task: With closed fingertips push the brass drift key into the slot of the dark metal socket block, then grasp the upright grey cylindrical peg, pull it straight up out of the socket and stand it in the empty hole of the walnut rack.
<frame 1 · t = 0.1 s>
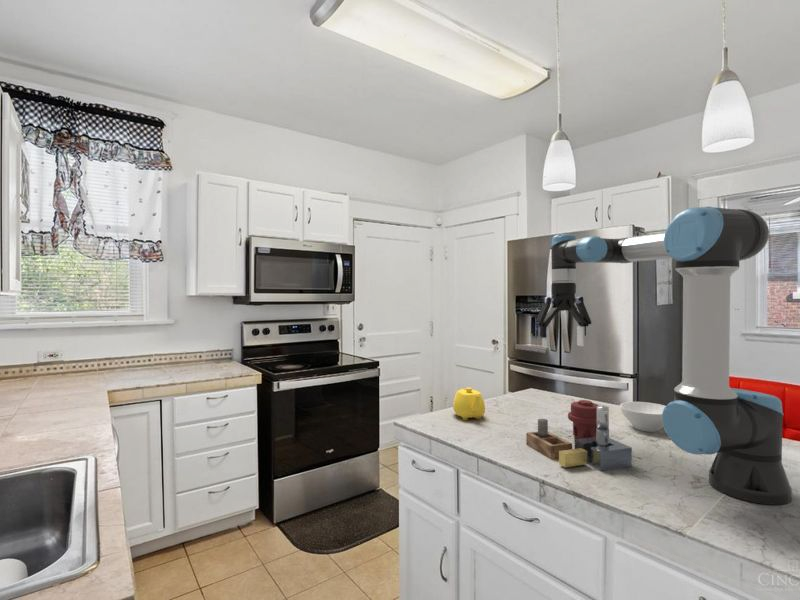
hand: (563, 346, 145), 28 cm above the counter, fingers open, 13 cm apart
mechanical component: (585, 441, 136), on the counter
bowl: (646, 428, 148), on the counter
drift key: (573, 457, 117), point 2 cm above the counter, slide at 0.0 cm
rack: (548, 449, 129), on the counter
teapot: (469, 417, 162), on the counter
grey cylindrical peg: (602, 434, 119), in the socket block
socket block: (602, 461, 120), on the counter
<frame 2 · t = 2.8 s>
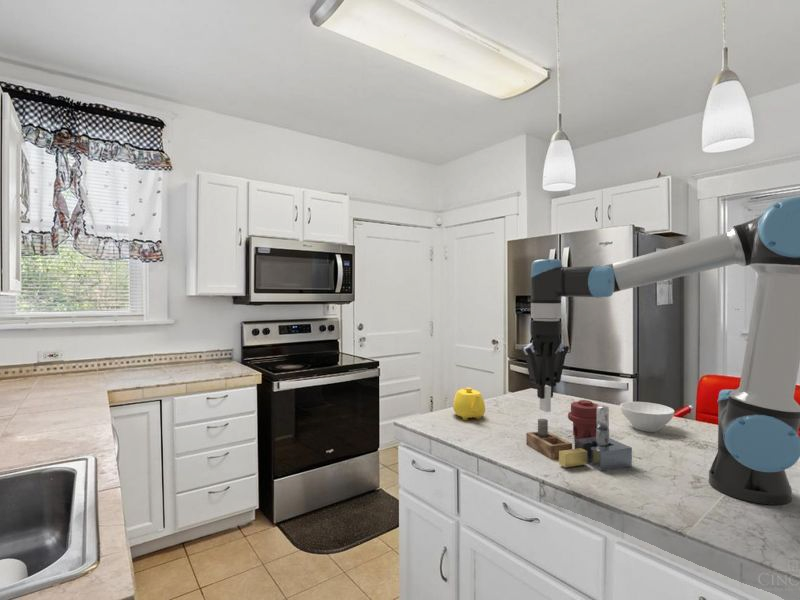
hand: (545, 410, 114), 16 cm above the counter, fingers closed
nothing on the counter moved.
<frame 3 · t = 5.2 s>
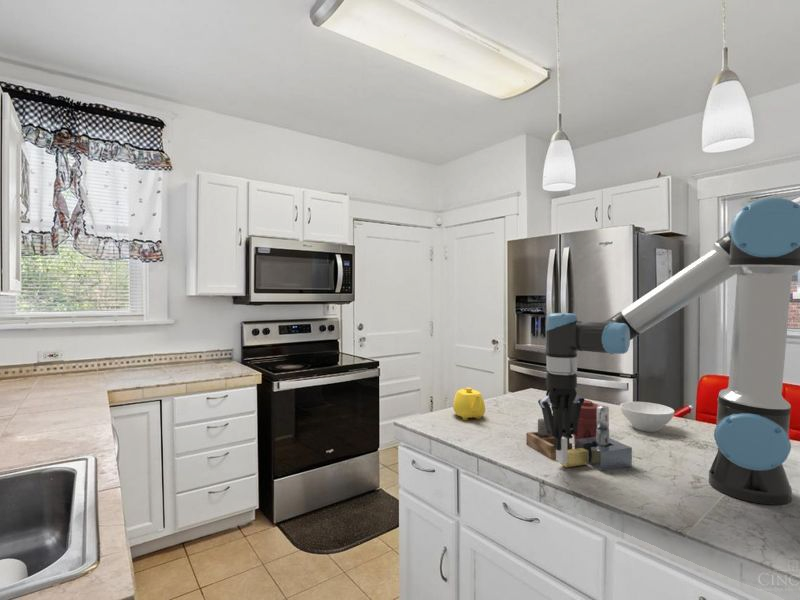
hand: (561, 461, 115), 2 cm above the counter, fingers closed
drift key: (574, 457, 117), point 2 cm above the counter, slide at 0.5 cm, touching gripper
everything else where it was.
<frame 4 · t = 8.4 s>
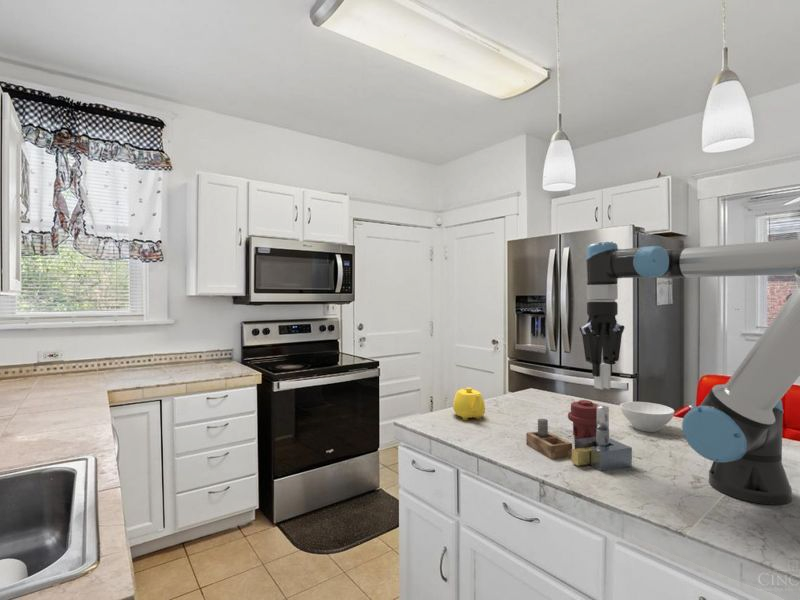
hand: (602, 387, 119), 20 cm above the counter, fingers closed
drift key: (585, 455, 118), point 2 cm above the counter, slide at 4.0 cm
everything else where it was.
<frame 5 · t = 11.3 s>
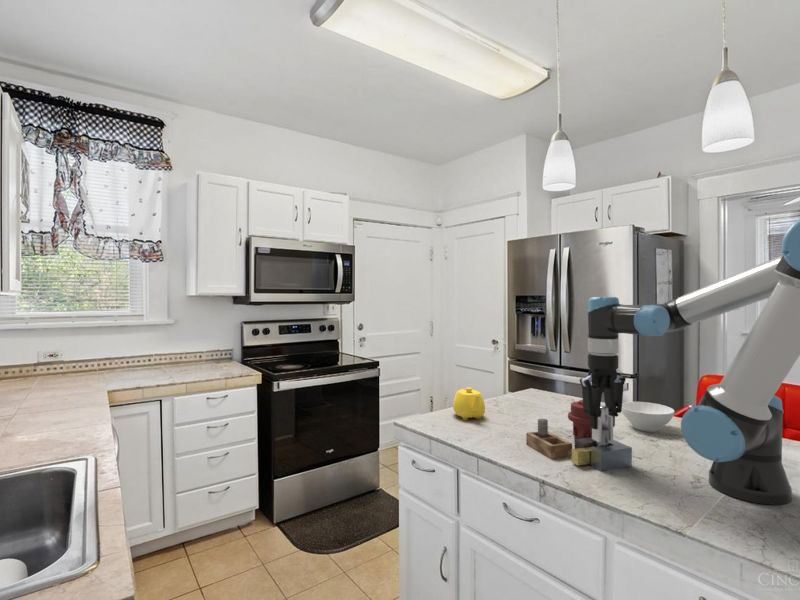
hand: (602, 439, 119), 6 cm above the counter, fingers closed on grey cylindrical peg, 3 cm apart
grey cylindrical peg: (602, 434, 119), in the socket block, touching gripper
everything else where it was.
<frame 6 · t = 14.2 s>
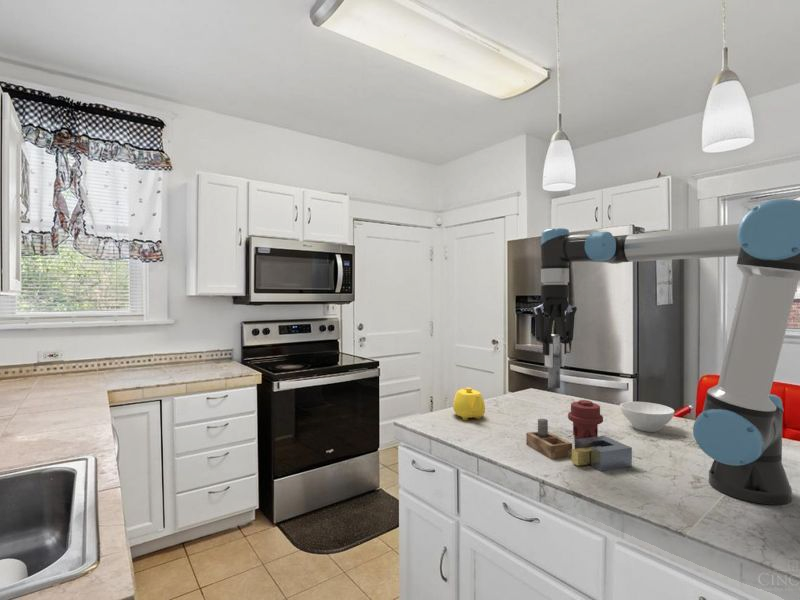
hand: (554, 366, 125), 25 cm above the counter, fingers closed on grey cylindrical peg, 3 cm apart
grey cylindrical peg: (554, 361, 125), point 26 cm above the counter, touching gripper
everything else where it was.
when the fingers open (8 cm above the counter, at t = 17.4 s): grey cylindrical peg drops 1 cm, resting in rack.
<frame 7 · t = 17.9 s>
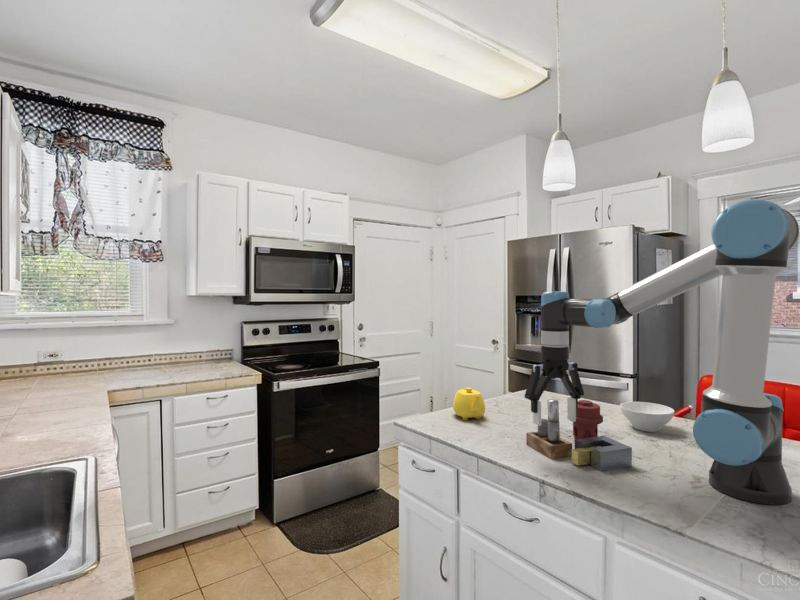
hand: (554, 422, 126), 9 cm above the counter, fingers open, 11 cm apart
grey cylindrical peg: (553, 426, 126), resting in rack
everything else where it was.
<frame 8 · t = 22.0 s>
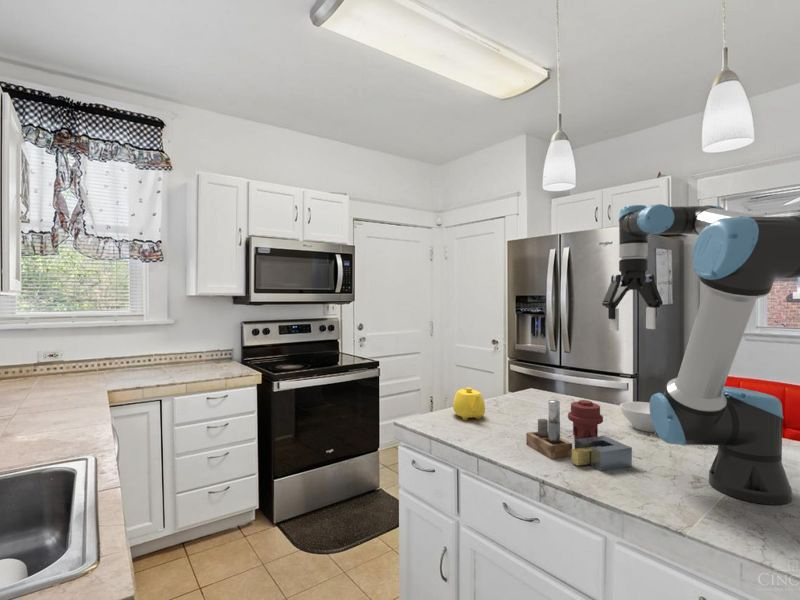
hand: (632, 329, 132), 35 cm above the counter, fingers open, 13 cm apart
nothing on the counter moved.
at the end: drift key slide at 4.0 cm; grey cylindrical peg 0.2 cm from the target spot on the rack, point 7.5 cm above the rack's base; grey cylindrical peg tilted 0° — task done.
